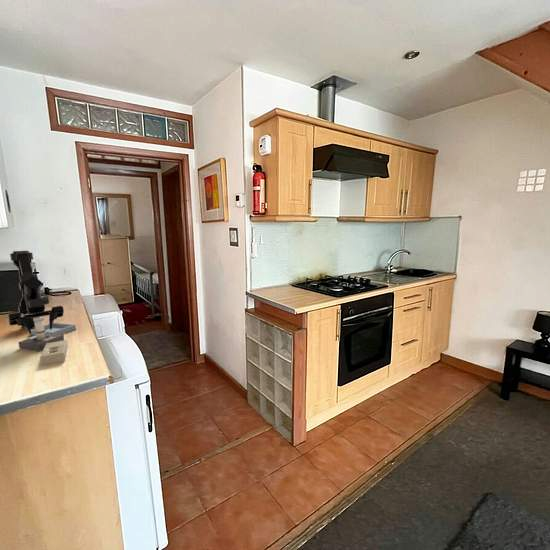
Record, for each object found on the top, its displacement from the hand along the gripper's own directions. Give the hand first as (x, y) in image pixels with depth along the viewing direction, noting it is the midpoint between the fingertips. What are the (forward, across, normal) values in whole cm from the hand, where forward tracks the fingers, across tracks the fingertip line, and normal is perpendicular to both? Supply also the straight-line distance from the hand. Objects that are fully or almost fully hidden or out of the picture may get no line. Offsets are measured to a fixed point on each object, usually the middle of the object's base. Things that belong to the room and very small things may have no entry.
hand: (41, 331), depth 127 cm
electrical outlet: (+16, +2, -6) cm, 18 cm away
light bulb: (+4, 0, +6) cm, 7 cm away
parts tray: (-8, +6, +17) cm, 20 cm away
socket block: (+4, 0, +6) cm, 7 cm away
